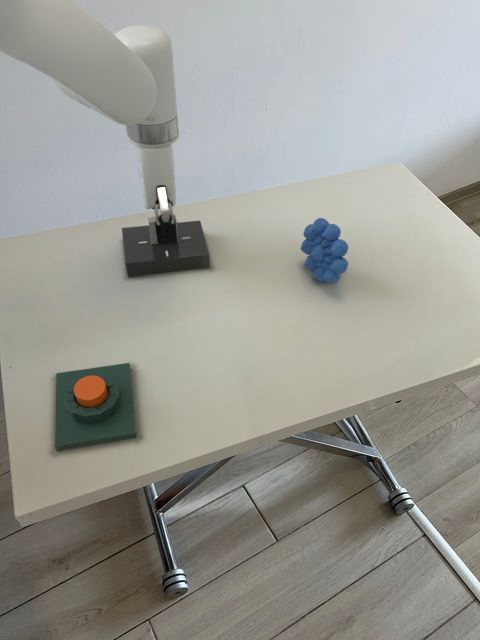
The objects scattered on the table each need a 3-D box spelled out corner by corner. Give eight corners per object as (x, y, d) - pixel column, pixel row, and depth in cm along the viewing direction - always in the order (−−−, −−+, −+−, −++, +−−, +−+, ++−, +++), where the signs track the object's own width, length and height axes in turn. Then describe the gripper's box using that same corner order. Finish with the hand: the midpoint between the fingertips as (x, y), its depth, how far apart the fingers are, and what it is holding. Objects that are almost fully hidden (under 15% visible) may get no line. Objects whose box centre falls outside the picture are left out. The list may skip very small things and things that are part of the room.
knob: (151, 244, 91) (148, 221, 87) (150, 239, 92) (147, 216, 88) (178, 241, 92) (176, 218, 88) (177, 236, 93) (175, 213, 89)
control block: (56, 451, 67) (50, 438, 65) (58, 378, 75) (52, 364, 73) (136, 437, 69) (133, 424, 67) (130, 367, 77) (127, 354, 74)
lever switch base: (127, 277, 90) (125, 262, 87) (124, 241, 96) (121, 227, 94) (209, 268, 92) (209, 253, 90) (200, 233, 99) (200, 219, 96)
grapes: (359, 292, 90) (374, 234, 81) (326, 304, 88) (337, 245, 79) (321, 253, 96) (331, 195, 87) (290, 263, 94) (296, 205, 85)
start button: (76, 410, 68) (73, 402, 67) (76, 385, 71) (73, 377, 70) (108, 405, 69) (106, 397, 68) (107, 381, 72) (104, 373, 70)
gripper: (122, 101, 81) (137, 198, 94) (130, 158, 71) (146, 259, 83) (171, 98, 83) (179, 194, 96) (186, 154, 72) (193, 254, 85)
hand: (164, 224), depth 90 cm, fingers open, 9 cm apart
